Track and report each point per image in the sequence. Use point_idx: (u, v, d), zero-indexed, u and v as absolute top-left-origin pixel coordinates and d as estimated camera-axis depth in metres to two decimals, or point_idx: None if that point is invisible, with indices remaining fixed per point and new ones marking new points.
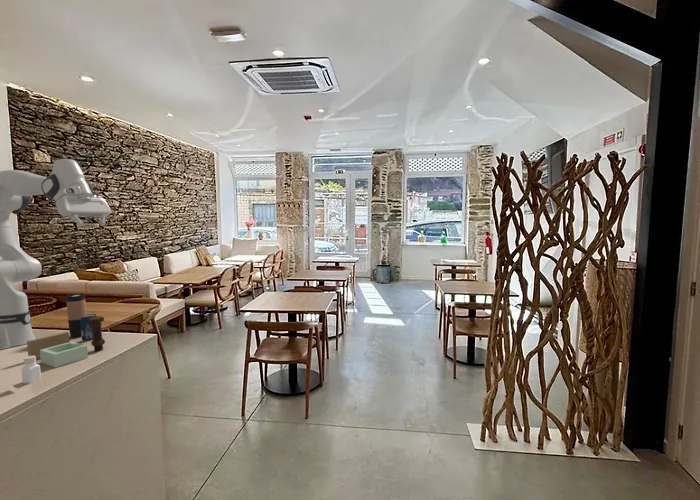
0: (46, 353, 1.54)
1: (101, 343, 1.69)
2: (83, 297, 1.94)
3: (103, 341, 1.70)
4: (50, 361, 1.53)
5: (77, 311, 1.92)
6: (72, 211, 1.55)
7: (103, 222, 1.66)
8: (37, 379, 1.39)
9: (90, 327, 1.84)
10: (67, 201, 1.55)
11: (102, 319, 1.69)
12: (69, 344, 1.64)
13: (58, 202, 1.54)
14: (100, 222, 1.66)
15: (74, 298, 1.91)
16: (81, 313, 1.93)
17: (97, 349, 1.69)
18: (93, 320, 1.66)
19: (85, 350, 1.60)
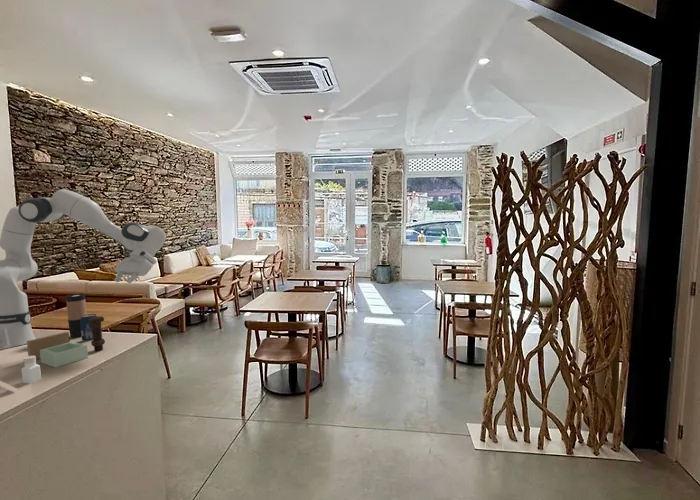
0: (46, 353, 1.54)
1: (101, 343, 1.69)
2: (83, 297, 1.94)
3: (103, 341, 1.70)
4: (50, 361, 1.53)
5: (77, 311, 1.92)
6: None
7: None
8: (37, 379, 1.39)
9: (90, 327, 1.84)
10: None
11: (102, 319, 1.69)
12: (69, 344, 1.64)
13: (147, 263, 1.78)
14: (118, 279, 1.80)
15: (74, 298, 1.91)
16: (81, 313, 1.93)
17: (97, 349, 1.69)
18: (93, 320, 1.66)
19: (85, 350, 1.60)
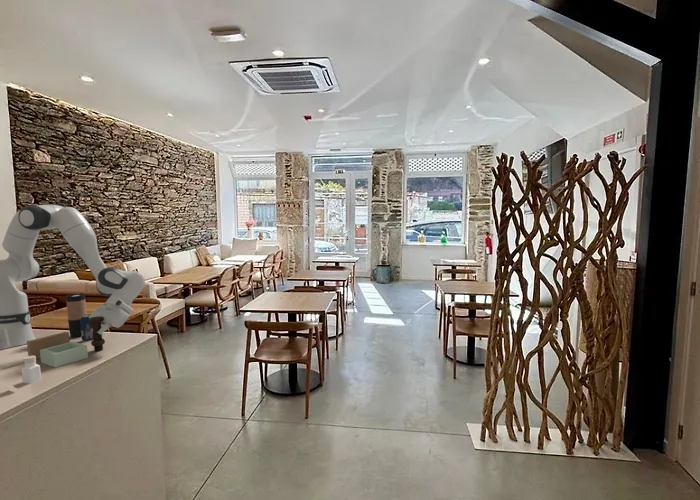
0: (46, 353, 1.54)
1: (101, 343, 1.69)
2: (83, 297, 1.94)
3: (103, 341, 1.70)
4: (50, 361, 1.53)
5: (77, 311, 1.92)
6: None
7: None
8: (37, 379, 1.39)
9: (90, 327, 1.84)
10: None
11: (102, 319, 1.69)
12: (69, 344, 1.64)
13: (123, 314, 1.69)
14: None
15: (74, 298, 1.91)
16: (81, 313, 1.93)
17: (97, 349, 1.69)
18: (93, 320, 1.66)
19: (85, 350, 1.60)
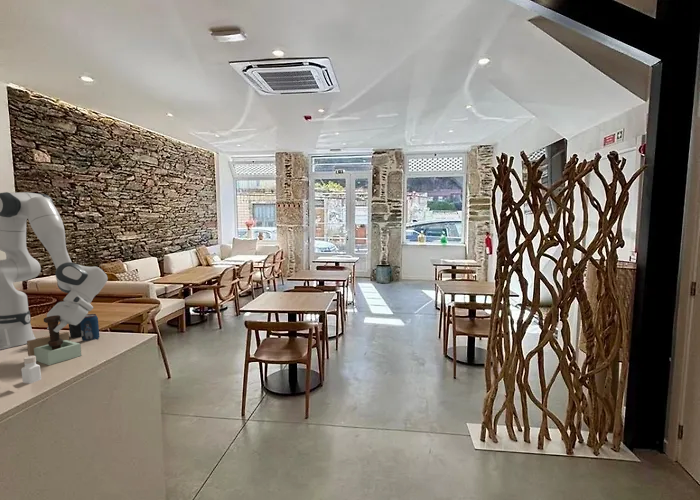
0: (40, 351, 1.57)
1: (59, 343, 1.61)
2: None
3: (61, 341, 1.62)
4: (44, 359, 1.55)
5: None
6: None
7: None
8: (37, 379, 1.39)
9: (90, 327, 1.84)
10: None
11: (58, 318, 1.61)
12: (63, 342, 1.67)
13: (81, 311, 1.61)
14: None
15: None
16: None
17: None
18: (48, 319, 1.59)
19: (78, 348, 1.63)
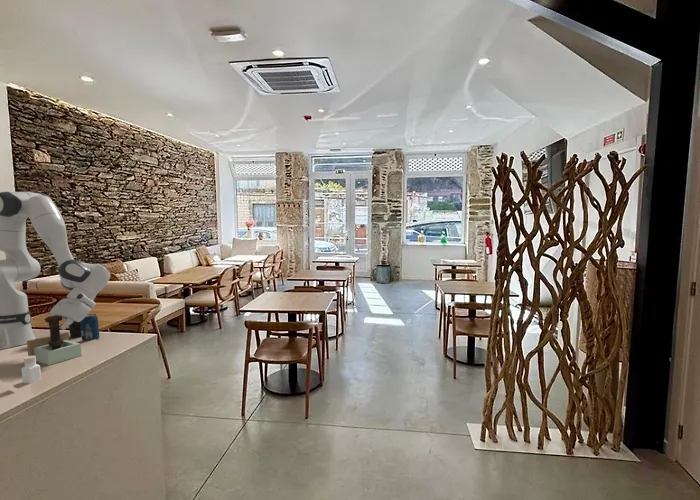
0: (40, 351, 1.57)
1: (59, 343, 1.61)
2: None
3: (61, 341, 1.62)
4: (44, 359, 1.55)
5: None
6: None
7: None
8: (37, 379, 1.39)
9: (90, 327, 1.84)
10: None
11: (60, 318, 1.61)
12: (63, 342, 1.67)
13: (84, 308, 1.62)
14: None
15: None
16: None
17: None
18: (50, 319, 1.59)
19: (78, 348, 1.63)
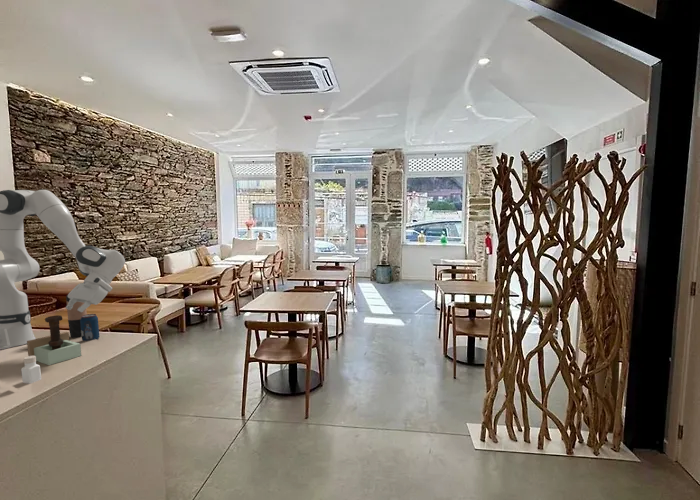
0: (40, 351, 1.57)
1: (59, 343, 1.61)
2: None
3: (61, 341, 1.62)
4: (44, 359, 1.55)
5: (77, 311, 1.92)
6: None
7: None
8: (37, 379, 1.39)
9: (90, 327, 1.84)
10: None
11: (60, 318, 1.62)
12: (63, 342, 1.67)
13: (101, 291, 1.68)
14: (70, 306, 1.70)
15: None
16: (81, 313, 1.93)
17: None
18: (50, 319, 1.59)
19: (78, 348, 1.63)
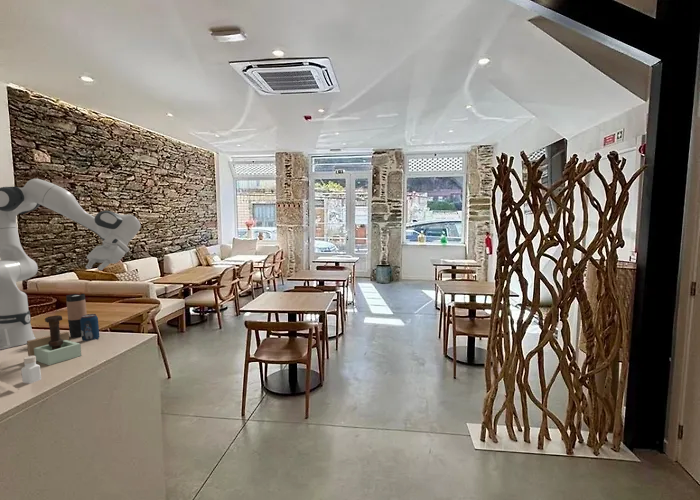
0: (40, 351, 1.57)
1: (59, 343, 1.61)
2: (83, 297, 1.94)
3: (61, 341, 1.62)
4: (44, 359, 1.55)
5: (77, 311, 1.92)
6: None
7: None
8: (37, 379, 1.39)
9: (90, 327, 1.84)
10: None
11: (60, 318, 1.62)
12: (63, 342, 1.67)
13: (120, 251, 1.77)
14: (90, 266, 1.79)
15: (74, 298, 1.91)
16: (81, 313, 1.93)
17: None
18: (50, 319, 1.59)
19: (78, 348, 1.63)
